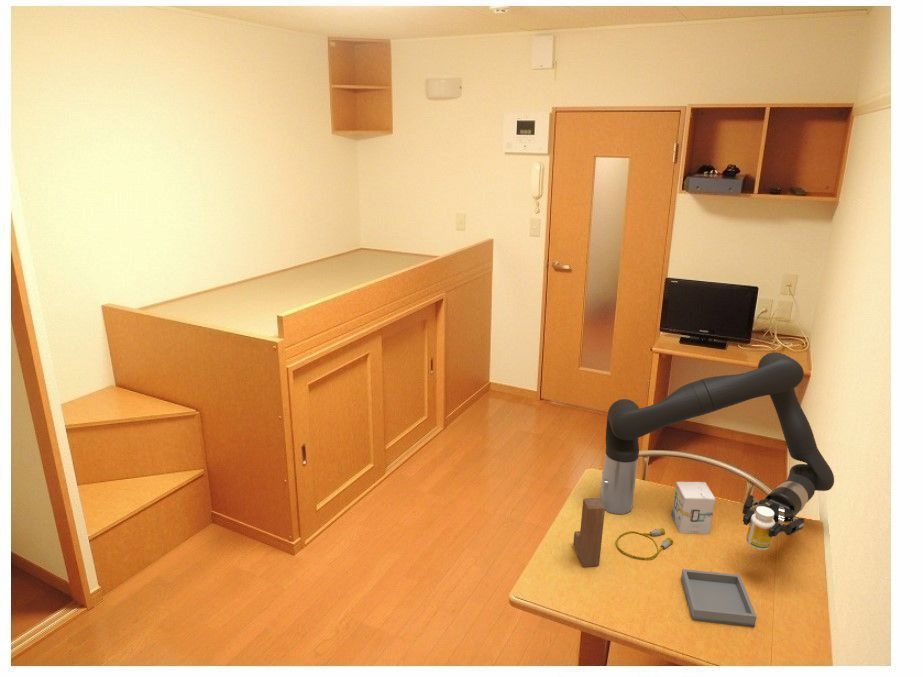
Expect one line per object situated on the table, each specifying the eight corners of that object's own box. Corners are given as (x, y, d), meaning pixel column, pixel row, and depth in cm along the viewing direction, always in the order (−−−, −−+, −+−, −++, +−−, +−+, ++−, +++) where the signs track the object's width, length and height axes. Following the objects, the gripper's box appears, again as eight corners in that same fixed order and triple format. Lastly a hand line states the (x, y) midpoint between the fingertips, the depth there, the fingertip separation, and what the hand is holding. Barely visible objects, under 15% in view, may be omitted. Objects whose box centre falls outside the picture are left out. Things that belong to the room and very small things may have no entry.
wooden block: (572, 544, 166) (577, 487, 159) (588, 543, 166) (594, 486, 160) (582, 567, 157) (588, 508, 151) (599, 566, 158) (605, 507, 151)
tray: (692, 620, 141) (694, 609, 140) (680, 578, 154) (682, 569, 153) (754, 627, 139) (756, 616, 138) (737, 584, 152) (739, 574, 151)
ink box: (670, 514, 179) (675, 480, 175) (700, 515, 178) (706, 481, 174) (679, 533, 171) (684, 497, 167) (710, 534, 170) (716, 498, 166)
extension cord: (680, 562, 160) (681, 556, 159) (620, 561, 160) (620, 555, 160) (666, 532, 172) (667, 526, 171) (610, 531, 172) (611, 525, 171)
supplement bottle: (741, 538, 153) (748, 505, 149) (759, 535, 154) (766, 502, 151) (756, 552, 148) (763, 519, 145) (774, 549, 149) (782, 516, 146)
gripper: (761, 476, 162) (731, 500, 151) (819, 500, 152) (792, 529, 141) (756, 500, 164) (726, 526, 154) (813, 525, 154) (785, 555, 144)
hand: (757, 527), depth 147 cm, fingers closed on supplement bottle, 5 cm apart
